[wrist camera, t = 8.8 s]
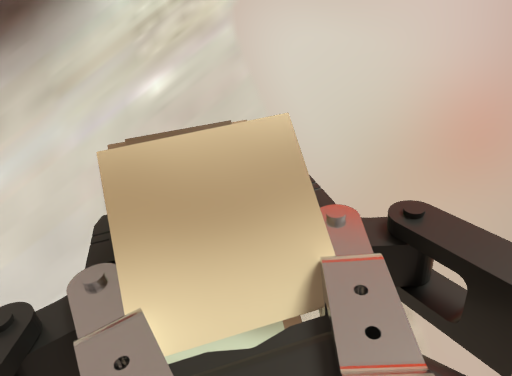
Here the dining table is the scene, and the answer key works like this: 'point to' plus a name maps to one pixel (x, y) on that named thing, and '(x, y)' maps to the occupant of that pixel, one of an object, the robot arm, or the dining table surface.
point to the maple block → (215, 231)
